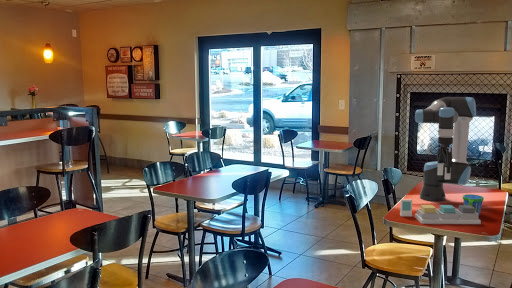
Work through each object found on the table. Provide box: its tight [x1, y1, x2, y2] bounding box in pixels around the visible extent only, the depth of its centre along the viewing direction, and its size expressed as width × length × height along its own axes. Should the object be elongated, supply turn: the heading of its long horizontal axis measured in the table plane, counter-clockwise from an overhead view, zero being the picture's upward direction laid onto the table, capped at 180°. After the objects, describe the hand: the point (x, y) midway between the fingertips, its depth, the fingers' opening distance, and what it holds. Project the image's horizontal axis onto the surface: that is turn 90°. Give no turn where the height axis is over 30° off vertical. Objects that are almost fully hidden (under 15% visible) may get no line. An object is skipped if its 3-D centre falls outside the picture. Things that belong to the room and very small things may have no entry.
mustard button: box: [420, 204, 437, 213], centre depth 249 cm, size 6×6×4 cm
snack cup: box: [462, 194, 485, 215], centre depth 260 cm, size 16×10×10 cm
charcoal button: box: [458, 204, 475, 213], centre depth 248 cm, size 6×6×4 cm
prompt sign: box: [399, 198, 413, 217], centre depth 258 cm, size 3×6×9 cm, turn 87°
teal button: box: [439, 204, 456, 213], centre depth 249 cm, size 6×6×4 cm
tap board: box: [414, 208, 482, 225], centre depth 249 cm, size 12×30×5 cm, turn 87°
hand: (443, 177), depth 254 cm, fingers open, 10 cm apart
